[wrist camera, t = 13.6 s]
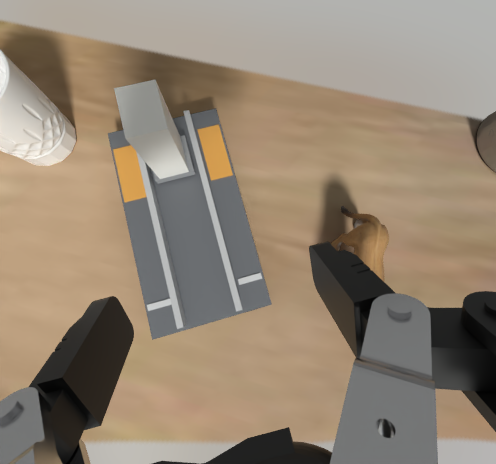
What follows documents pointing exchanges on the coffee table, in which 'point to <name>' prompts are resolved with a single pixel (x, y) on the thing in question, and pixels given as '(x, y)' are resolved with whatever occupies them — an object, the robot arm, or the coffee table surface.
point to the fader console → (190, 232)
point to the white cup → (31, 120)
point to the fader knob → (153, 131)
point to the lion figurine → (366, 241)
